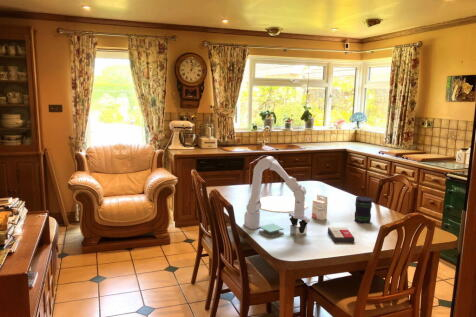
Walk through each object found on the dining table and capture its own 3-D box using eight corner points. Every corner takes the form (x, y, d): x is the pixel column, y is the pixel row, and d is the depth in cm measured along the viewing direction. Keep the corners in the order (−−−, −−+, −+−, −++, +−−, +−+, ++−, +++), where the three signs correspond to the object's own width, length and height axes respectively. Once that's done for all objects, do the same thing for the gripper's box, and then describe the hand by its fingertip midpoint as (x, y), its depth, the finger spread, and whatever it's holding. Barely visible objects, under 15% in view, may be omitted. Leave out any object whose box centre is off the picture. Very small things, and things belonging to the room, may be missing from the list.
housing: (288, 233, 221) (289, 225, 220) (301, 230, 226) (302, 222, 225) (294, 236, 217) (295, 228, 216) (307, 233, 222) (308, 224, 221)
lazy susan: (246, 209, 268) (246, 204, 267) (259, 195, 305) (259, 191, 304) (303, 215, 256) (304, 210, 256) (310, 200, 293) (311, 196, 293)
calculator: (334, 236, 208) (327, 226, 223) (334, 244, 209) (327, 233, 224) (354, 237, 208) (346, 226, 223) (354, 244, 209) (346, 233, 224)
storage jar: (369, 219, 249) (371, 197, 246) (371, 224, 239) (373, 201, 237) (353, 218, 251) (355, 196, 248) (354, 223, 241) (356, 199, 239)
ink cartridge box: (311, 217, 251) (312, 195, 249) (315, 215, 255) (316, 194, 252) (322, 220, 245) (323, 198, 243) (326, 218, 249) (328, 196, 246)
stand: (259, 232, 222) (259, 226, 222) (272, 229, 228) (272, 223, 227) (269, 237, 214) (270, 231, 214) (283, 234, 220) (283, 228, 219)
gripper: (285, 206, 222) (284, 229, 224) (303, 212, 211) (302, 236, 213) (294, 204, 226) (293, 226, 229) (312, 210, 215) (311, 233, 217)
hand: (298, 231), depth 221 cm, fingers closed on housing, 5 cm apart
